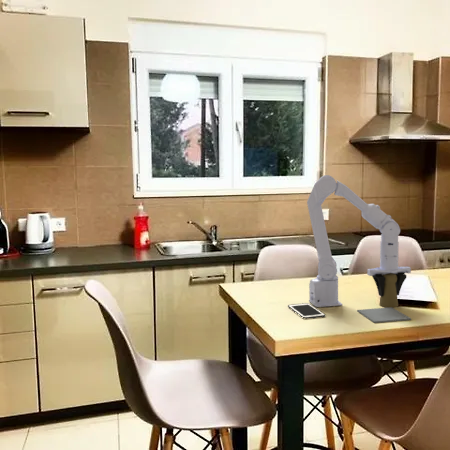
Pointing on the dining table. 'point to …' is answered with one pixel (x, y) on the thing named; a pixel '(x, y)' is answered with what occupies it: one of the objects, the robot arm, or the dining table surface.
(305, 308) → the cell phone
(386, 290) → the cork
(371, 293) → the dining table surface
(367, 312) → the slate mat
